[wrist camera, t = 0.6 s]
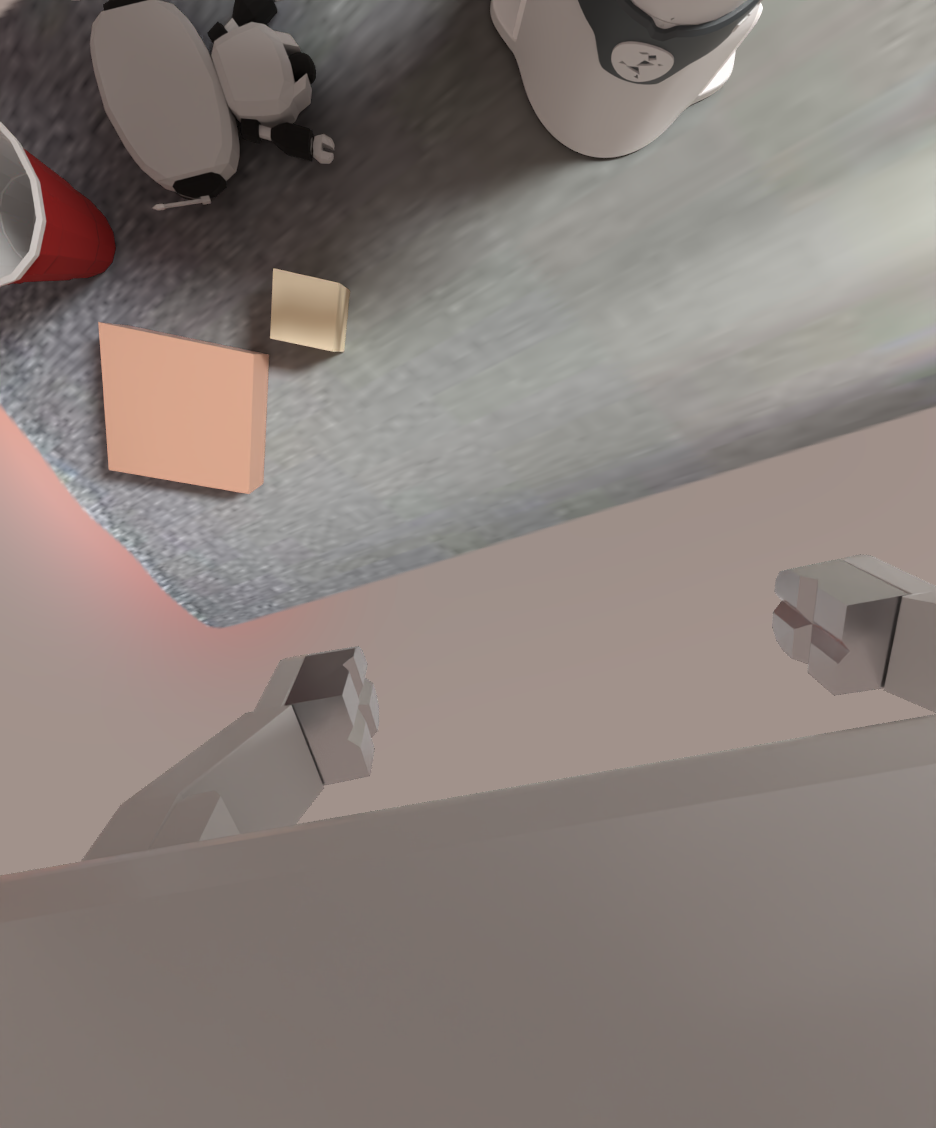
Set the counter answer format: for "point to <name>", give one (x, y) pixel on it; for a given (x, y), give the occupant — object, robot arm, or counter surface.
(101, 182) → the counter surface
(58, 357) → the counter surface
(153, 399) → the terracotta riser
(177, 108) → the robot toy
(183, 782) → the robot arm
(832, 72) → the counter surface
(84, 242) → the plastic cup
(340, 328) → the maple cube
